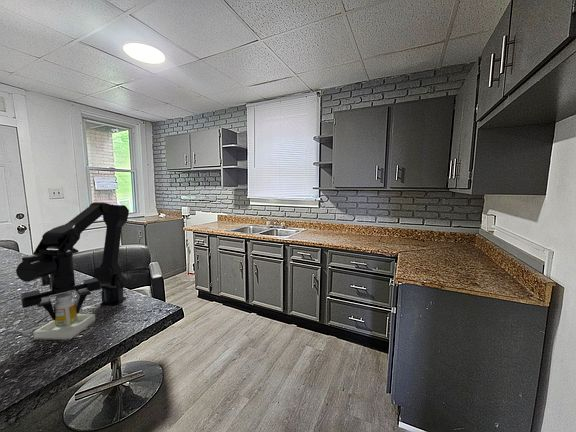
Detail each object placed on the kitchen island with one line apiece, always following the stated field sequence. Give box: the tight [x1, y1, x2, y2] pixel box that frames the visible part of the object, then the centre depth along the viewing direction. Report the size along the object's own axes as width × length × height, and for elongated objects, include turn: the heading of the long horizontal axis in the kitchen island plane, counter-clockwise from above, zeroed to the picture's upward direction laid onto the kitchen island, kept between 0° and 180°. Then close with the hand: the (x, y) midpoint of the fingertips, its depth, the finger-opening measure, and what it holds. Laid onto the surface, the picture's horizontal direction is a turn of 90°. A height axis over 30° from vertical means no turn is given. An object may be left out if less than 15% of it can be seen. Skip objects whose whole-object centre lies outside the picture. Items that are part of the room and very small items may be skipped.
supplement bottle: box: [53, 292, 77, 328], centre depth 81 cm, size 5×5×10 cm
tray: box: [33, 313, 96, 340], centre depth 82 cm, size 11×11×2 cm
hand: (66, 316), depth 81 cm, fingers closed on supplement bottle, 5 cm apart
